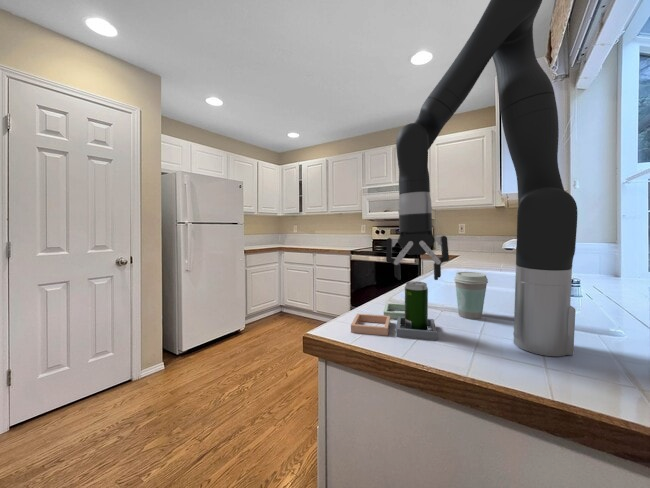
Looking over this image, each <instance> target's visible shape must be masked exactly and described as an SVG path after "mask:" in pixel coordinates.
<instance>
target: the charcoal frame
mask: <svg viewBox="0 0 650 488" xmlns="http://www.w3.org/2000/svg"><path fill="white" fill-rule="evenodd" d="M396 320H397V321H396V328H395V329H396V331H395V333H396V336H395V337H399V338H408V339H421V340H430V341H432V340H433V341H438V331H437V327H436V324H435V320H434V319H433V318H428V328H430V330H429V329H428V330H416V329H405V327H401V326H402V325H404V326H405V317H398V319H396Z"/></svg>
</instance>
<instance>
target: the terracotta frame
mask: <svg viewBox="0 0 650 488" xmlns="http://www.w3.org/2000/svg"><path fill="white" fill-rule="evenodd" d="M360 322H364V323H365V322H368V323H381V324H384V326H381V325H368V324H367V325H366V324H365V325H364V324H360ZM390 326H391V319H390V316H384V314H383V315H381V314H380V315H379V314H366V313H356V315H355V317H354V318H353V321H352V322H351V324H350V333H353V334H354V333H355V334H356V333H357V334H365V335H368V334H369V335H378V336H389V331H390Z"/></svg>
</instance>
